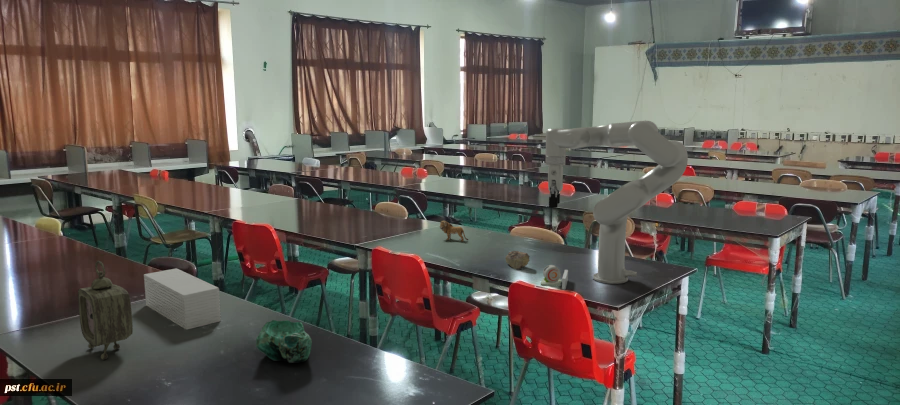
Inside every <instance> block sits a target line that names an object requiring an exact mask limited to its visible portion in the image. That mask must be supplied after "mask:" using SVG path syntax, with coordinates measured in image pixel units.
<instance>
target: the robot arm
mask: <svg viewBox="0 0 900 405" xmlns="http://www.w3.org/2000/svg"><path fill="white" fill-rule="evenodd" d="M601 146H602V147H603V146H604V147H606V146H607V147H609V148H618V147H619V148H620V147H632V146H635V147H636V148H637V149H638V150H640V151H641V152H642V153H643V154H644V155H646V156H647V158H649V159H651V160H652V161H653V162H654V163H655V164H658V165H656V166H655V167H654V168H652V169H650V170H649V171H647V173H645V174H643V175H642V176H640V177H638V178H636V179H635V180H632V181H629V182H627V183H625V184H623V185H621V186H619V187H618V188H617V189H616V190H613V191H612V192H611V193H609V194H608V195H606V196H604V197H603V198H602V199H599V201H597V202H596V203H595V205H594V206H593V211H592V215H593V219H594V220H595V221H596V222H597V223H598V224H599V230H598V253H597V256H598V257H597V273H595V274H593V280H595V281H596V282H599V283H603V284H611V285H612V284H613V285H617V284H624V283H627V282H628V281H629V277H632V278H638V277H637V275H638V274H637V273H638V272H637V271H633V270H627V269H626V266H625V255H626V238H627V237H626V236H627V234H626V233H627V224H628V223H627V222H628V218H629V216H628V215H630V214H632V213H634V212H635V211H636V210H638V209H640V208H641V207H643V206H645V205H646V204H647V203H649V201H650V200H652V199H653V198H655V197H656V196H659V195H660V194H661V193H663V192H664V191H665V190H667V189H669V188H670V187H671V186H673V185H674V184H675V183H676V182H678V181H679V180H680V179H681V178H682V176H683V174H684V173H685V172H686V169H687V166H688V163H689V162H688V158H689V156H688V155H689V154H688V151H687V148H686V145H684V144H683V143H682V142H681V141H677V140H670V139H668V138H666V137H665V136H663V134H661V133H660V132H659V129H658V126H657V124H656V123H655V122H654V121H650V120H638V121H636V120H635V121H625V122H615V123H614V122H612V123H608V124H606V125H596V126H595V125H594V126H585V127H574V128H568V129H566V128H565V129H564V128H560V127H559V128H558V127H556V128H554V127H553V128H552V127H551V128H548V129H546V131H545V163H544V164H545V166H548V167H547V169H548V170H547V171H548V172H547V188H548V189H547V190H548V191H549V197H548V207H549V208H553V209H554V208H556V209H557V208H558V204H560V203H561V193H560V192H562V191H563V190H564V181H563V180H564V167H563V166H566V152H567V151H566V150H567V149H568V150H569V149H570V150H575V149H580V148H581V149H582V148H586V147H587V148H588V147H601Z"/></svg>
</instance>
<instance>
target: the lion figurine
mask: <svg viewBox="0 0 900 405" xmlns="http://www.w3.org/2000/svg"><path fill="white" fill-rule="evenodd" d="M439 228H440V230H441V231H442V232H443V233H444V234H446V235H447V238H446V241H449V240H450V239H451V238H452V237H451V236H452V235H456V234H457V235H458V237H460V238H458V239H459V241H460V242H465V241H464V240H466V241H469V239H468V238H466V235H465V231H464V229H463V227H461V226H453V224H452V223H449V222H448V221H447V220H441V221H440V224H439Z"/></svg>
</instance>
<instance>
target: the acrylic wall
mask: <svg viewBox="0 0 900 405" xmlns="http://www.w3.org/2000/svg"><path fill="white" fill-rule="evenodd" d="M563 271H564V272H563V275H562V278H561V280H562V282H561V290H564V291H565V290H566V288H567V285H568V280H569V270H568V269H564V270H563Z"/></svg>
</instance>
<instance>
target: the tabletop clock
mask: <svg viewBox="0 0 900 405" xmlns="http://www.w3.org/2000/svg"><path fill="white" fill-rule="evenodd" d="M98 264H99V265H100V267H101V269H102V271H101V270H100V271H99V270H98V266H99V265H98ZM94 265H95V266H94V267H95V272H96V274H97V276H98V277H97V278H95V279H94V280H92V282H91V285H90V286H87V287H83V288H78V289H77V302H78V306H77V307H78V315H79V323H80V329H81V330H80V331H81V334H82V336H83V338H84V340H85V341H86V342H88V345H87V347H88V348H89V349H90V350H91V349H94V348H95V347H100V346H104V347H103V348H104V349H103V353H101V355H100V359H101V360H107V359H108V356H109V355H108V354H107V351H108V347H109V346H110V345H111V344H113V346H112V347H113V349H114V350H116V351H117V350H119V349H120V348H121V345H120V344H119V343H117V342H120V341H124V340H127V339H128V338H129V337H130V336H131V335H133V330H134V329H133V327H134V326H133V312H132V305H131V303H132V302H131V297H130V294H129V292H128V291H127V289H125V288H124V287H122V286H120V285H117V284H113V282H112V280H111V279H110V278H108V277H106V269H105V268H106V267H105V266H104V263H103V262H102V261H100V260H97V261H96V262H95V264H94Z"/></svg>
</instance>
